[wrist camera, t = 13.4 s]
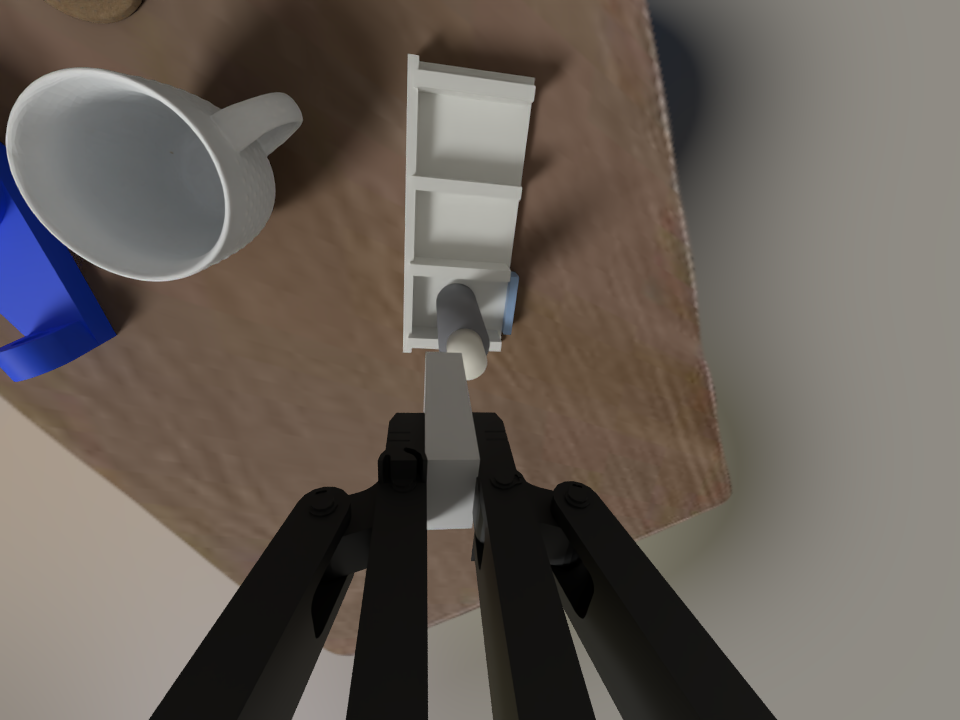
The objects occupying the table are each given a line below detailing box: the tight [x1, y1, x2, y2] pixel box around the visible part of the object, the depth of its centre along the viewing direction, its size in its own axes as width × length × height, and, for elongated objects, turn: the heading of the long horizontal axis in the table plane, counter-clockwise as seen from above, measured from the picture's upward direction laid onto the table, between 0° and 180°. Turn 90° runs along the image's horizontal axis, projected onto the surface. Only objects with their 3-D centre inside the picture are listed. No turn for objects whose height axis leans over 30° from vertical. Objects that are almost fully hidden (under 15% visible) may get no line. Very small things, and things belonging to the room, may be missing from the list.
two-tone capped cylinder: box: [436, 283, 490, 380], centre depth 34 cm, size 4×4×13 cm
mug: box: [6, 67, 303, 281], centre depth 28 cm, size 15×11×13 cm
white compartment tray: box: [403, 54, 536, 353], centre depth 36 cm, size 24×11×4 cm, turn 174°
